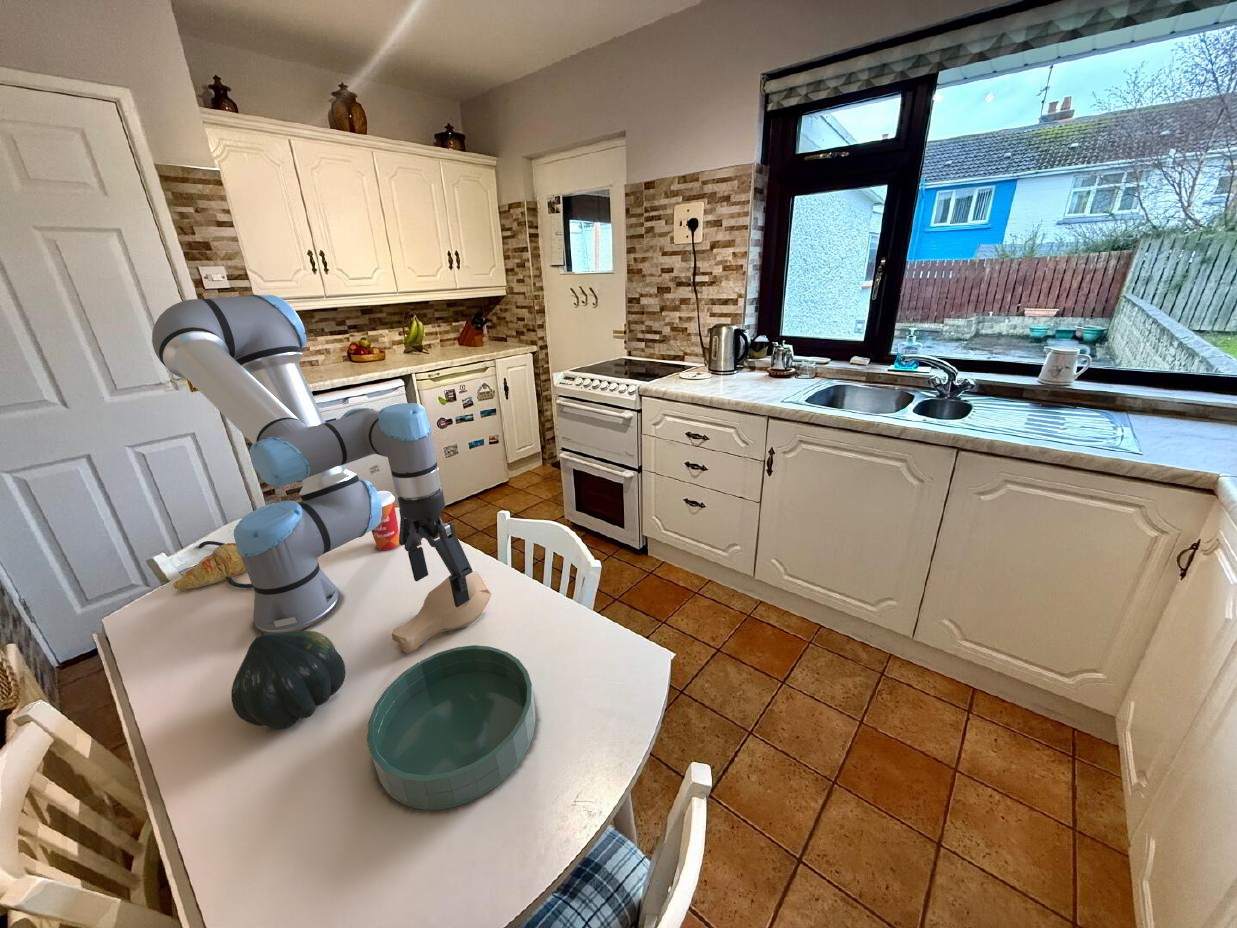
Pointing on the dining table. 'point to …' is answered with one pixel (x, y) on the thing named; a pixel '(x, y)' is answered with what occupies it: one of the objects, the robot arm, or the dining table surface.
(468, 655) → the bowl
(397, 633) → the squash
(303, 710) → the squash
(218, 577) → the croissant
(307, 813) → the dining table surface
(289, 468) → the robot arm
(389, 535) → the paper cup
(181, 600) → the dining table surface
